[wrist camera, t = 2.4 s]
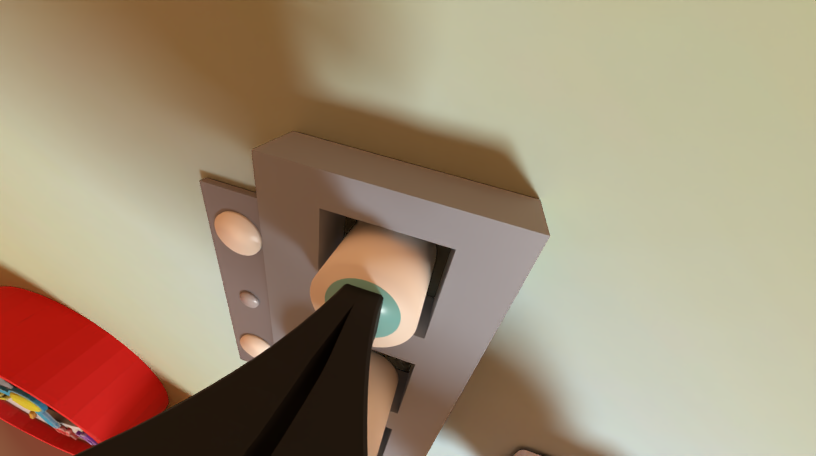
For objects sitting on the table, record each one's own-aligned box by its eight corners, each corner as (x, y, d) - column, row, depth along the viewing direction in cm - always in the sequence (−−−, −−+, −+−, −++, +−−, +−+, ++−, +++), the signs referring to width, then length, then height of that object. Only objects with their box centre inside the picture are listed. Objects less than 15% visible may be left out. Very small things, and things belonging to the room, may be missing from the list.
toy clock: (55, 394, 21) (142, 485, 32) (137, 328, 26) (188, 428, 37) (-163, 303, 23) (-9, 419, 34) (-49, 257, 28) (53, 372, 39)
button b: (404, 361, 15) (379, 449, 11) (392, 401, 17) (368, 484, 14) (328, 334, 15) (283, 413, 12) (326, 377, 17) (288, 452, 14)
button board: (540, 199, 11) (550, 235, 9) (419, 442, 23) (411, 481, 21) (293, 131, 12) (251, 149, 10) (301, 398, 24) (283, 431, 22)
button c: (447, 224, 12) (429, 287, 9) (425, 291, 15) (406, 361, 11) (355, 197, 13) (308, 249, 10) (349, 266, 15) (309, 327, 12)
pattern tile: (271, 197, 14) (264, 202, 14) (285, 369, 23) (281, 376, 22) (206, 177, 15) (197, 181, 14) (244, 354, 23) (239, 360, 22)
